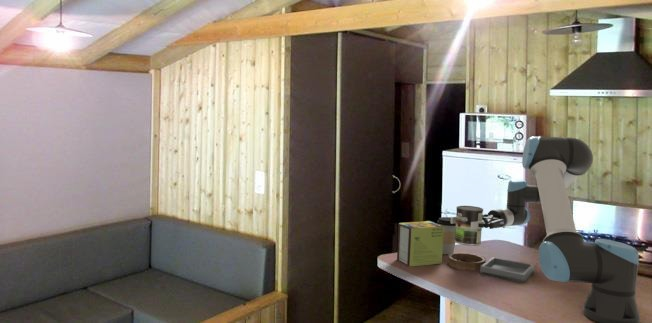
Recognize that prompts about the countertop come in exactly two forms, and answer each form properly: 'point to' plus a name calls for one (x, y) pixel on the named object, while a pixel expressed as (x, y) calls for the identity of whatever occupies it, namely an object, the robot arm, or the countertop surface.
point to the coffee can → (468, 225)
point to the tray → (507, 269)
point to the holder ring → (473, 265)
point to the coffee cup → (448, 235)
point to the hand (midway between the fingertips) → (461, 222)
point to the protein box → (420, 243)
